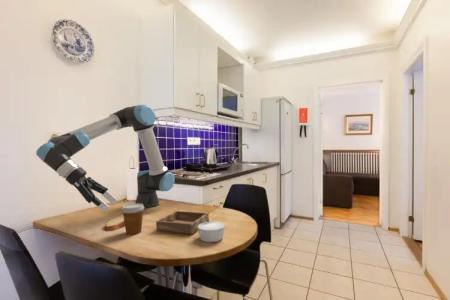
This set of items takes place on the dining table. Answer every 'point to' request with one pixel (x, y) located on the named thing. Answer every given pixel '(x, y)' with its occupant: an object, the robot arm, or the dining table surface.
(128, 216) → the disposable coffee cup
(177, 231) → the open wooden box
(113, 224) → the bread slice
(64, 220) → the dining table surface
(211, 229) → the ramekin
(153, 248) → the dining table surface
